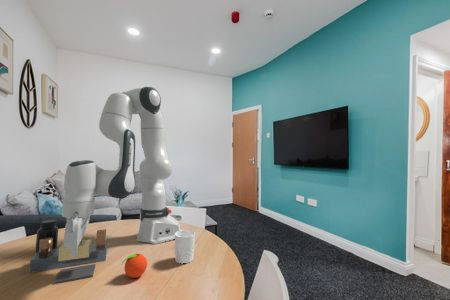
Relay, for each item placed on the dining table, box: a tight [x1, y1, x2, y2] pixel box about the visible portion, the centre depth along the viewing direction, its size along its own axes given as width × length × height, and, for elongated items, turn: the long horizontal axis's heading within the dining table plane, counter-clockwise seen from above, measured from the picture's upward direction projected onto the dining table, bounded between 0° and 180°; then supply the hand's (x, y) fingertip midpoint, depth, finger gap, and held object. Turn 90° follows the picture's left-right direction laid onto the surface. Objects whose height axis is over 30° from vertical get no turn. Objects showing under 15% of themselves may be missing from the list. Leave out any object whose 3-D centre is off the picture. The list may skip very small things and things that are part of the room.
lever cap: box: [58, 239, 92, 261], centre depth 71 cm, size 8×5×4 cm, turn 115°
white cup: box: [174, 229, 196, 265], centre depth 82 cm, size 8×8×10 cm
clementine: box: [121, 253, 148, 279], centre depth 70 cm, size 8×7×7 cm
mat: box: [53, 263, 96, 285], centre depth 71 cm, size 10×8×1 cm
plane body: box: [29, 228, 108, 273], centre depth 79 cm, size 22×8×10 cm, turn 116°
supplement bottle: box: [34, 219, 59, 254], centre depth 87 cm, size 7×7×12 cm
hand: (76, 251), depth 71 cm, fingers closed on lever cap, 5 cm apart
